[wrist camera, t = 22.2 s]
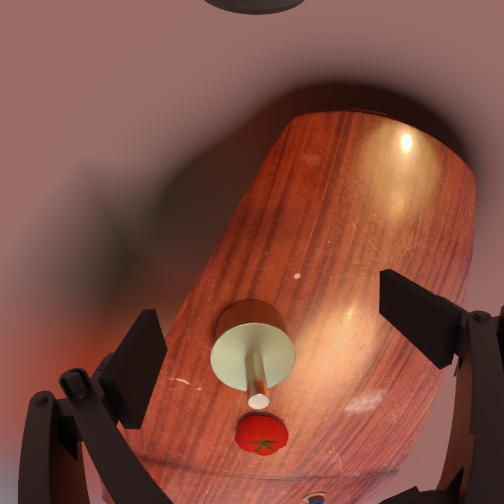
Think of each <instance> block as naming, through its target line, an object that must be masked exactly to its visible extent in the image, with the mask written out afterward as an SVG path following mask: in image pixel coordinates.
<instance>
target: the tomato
mask: <svg viewBox="0 0 504 504" xmlns="http://www.w3.org/2000/svg"><path fill="white" fill-rule="evenodd" d="M235 441H236V443H237V444H238V446H239V447H240V448H241V449H243V450H245V451H248V452H255V453H256V454H258V455H263V456H266V455H271V454H273V453H275V452H277V451H278V449H279V448H283V447H284V446H285V445H286V443H287V441H288V431H287V428H286V426H285V425H283V424H281V423H280V422H279V421H278V420H276V419H273V418H271V417H268V416H256V415H253V416H250V417H247V418H246V419H245V420H243V421H242V422H241V424H240V426H239V429H238V431H237V433H236V435H235Z"/></svg>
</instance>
